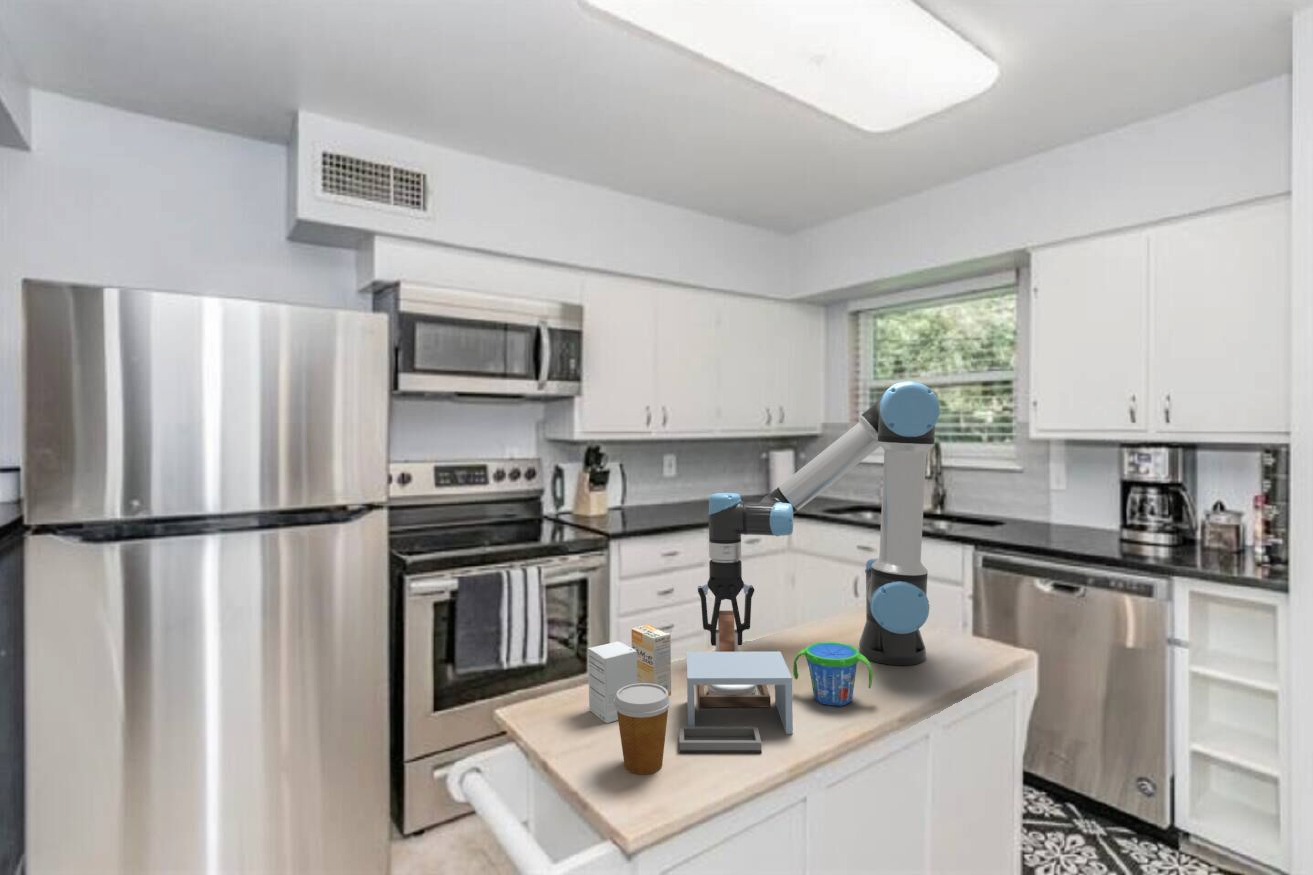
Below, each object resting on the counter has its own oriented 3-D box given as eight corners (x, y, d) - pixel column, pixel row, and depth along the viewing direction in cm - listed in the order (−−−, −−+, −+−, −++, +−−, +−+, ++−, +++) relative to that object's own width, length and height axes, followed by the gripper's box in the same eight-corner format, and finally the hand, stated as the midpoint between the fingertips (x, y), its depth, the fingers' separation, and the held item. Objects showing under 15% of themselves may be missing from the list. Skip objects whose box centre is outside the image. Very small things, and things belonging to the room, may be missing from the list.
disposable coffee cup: (645, 745, 117) (644, 677, 117) (684, 764, 110) (682, 692, 110) (602, 764, 111) (601, 693, 111) (641, 786, 104) (639, 710, 104)
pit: (757, 736, 120) (757, 726, 120) (761, 752, 114) (761, 742, 114) (679, 736, 120) (679, 726, 120) (679, 752, 114) (679, 742, 114)
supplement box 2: (630, 688, 142) (629, 627, 142) (649, 683, 145) (648, 623, 145) (653, 701, 136) (652, 637, 136) (672, 695, 139) (671, 632, 138)
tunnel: (781, 701, 135) (780, 651, 134) (792, 733, 121) (792, 677, 120) (687, 701, 135) (686, 651, 135) (688, 733, 121) (687, 678, 121)
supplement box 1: (620, 701, 136) (619, 640, 136) (639, 714, 130) (638, 650, 129) (588, 710, 132) (586, 647, 132) (605, 724, 126) (604, 657, 125)
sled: (755, 660, 158) (755, 610, 158) (770, 706, 132) (769, 646, 132) (696, 660, 158) (696, 610, 158) (699, 706, 133) (698, 647, 132)
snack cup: (787, 702, 134) (786, 651, 134) (802, 683, 144) (802, 636, 143) (866, 717, 127) (866, 664, 127) (877, 697, 136) (877, 647, 136)
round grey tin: (732, 709, 131) (731, 692, 131) (698, 694, 139) (697, 677, 139) (766, 696, 138) (766, 679, 138) (732, 682, 145) (732, 666, 145)
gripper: (690, 562, 153) (691, 664, 153) (763, 562, 152) (764, 664, 153) (689, 556, 160) (690, 653, 161) (758, 555, 160) (760, 653, 160)
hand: (726, 658), depth 157 cm, fingers closed on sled, 4 cm apart
